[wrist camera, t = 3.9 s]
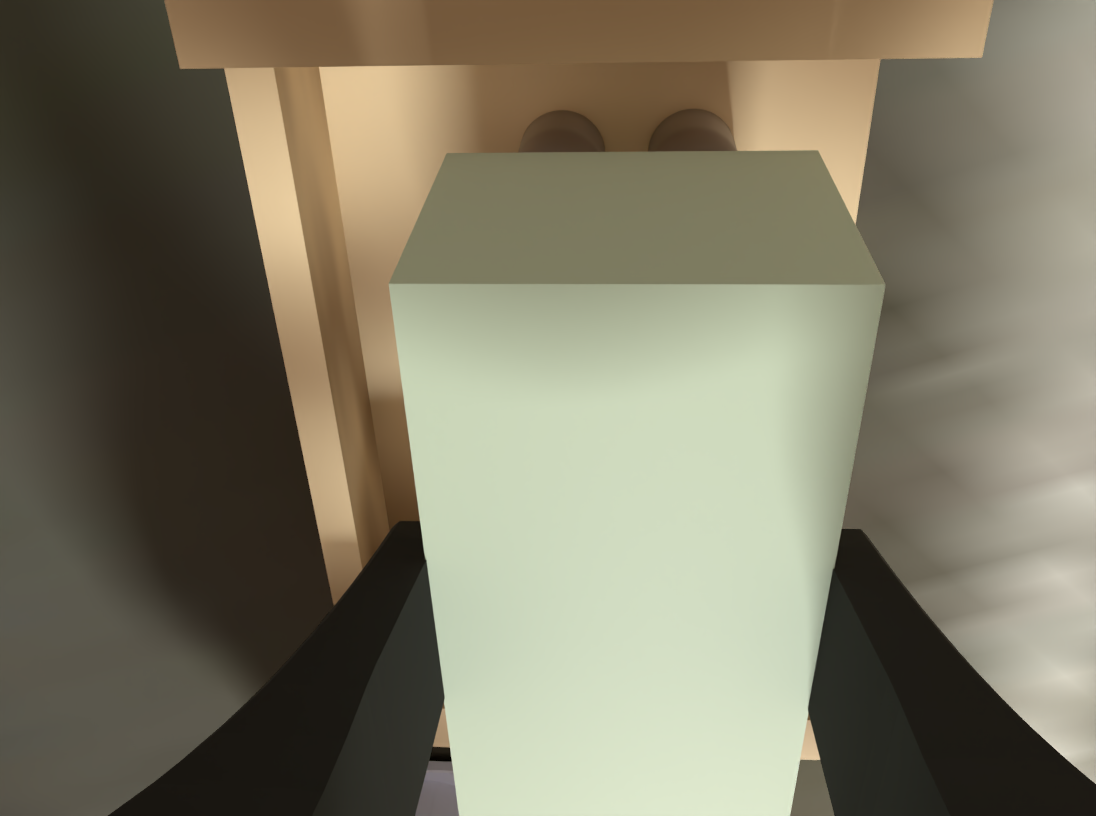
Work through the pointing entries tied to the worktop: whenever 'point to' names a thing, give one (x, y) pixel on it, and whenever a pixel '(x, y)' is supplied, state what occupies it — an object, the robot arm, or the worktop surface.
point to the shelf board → (632, 467)
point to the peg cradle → (496, 127)
